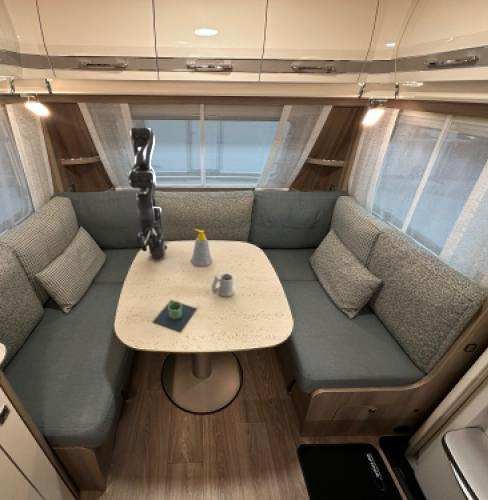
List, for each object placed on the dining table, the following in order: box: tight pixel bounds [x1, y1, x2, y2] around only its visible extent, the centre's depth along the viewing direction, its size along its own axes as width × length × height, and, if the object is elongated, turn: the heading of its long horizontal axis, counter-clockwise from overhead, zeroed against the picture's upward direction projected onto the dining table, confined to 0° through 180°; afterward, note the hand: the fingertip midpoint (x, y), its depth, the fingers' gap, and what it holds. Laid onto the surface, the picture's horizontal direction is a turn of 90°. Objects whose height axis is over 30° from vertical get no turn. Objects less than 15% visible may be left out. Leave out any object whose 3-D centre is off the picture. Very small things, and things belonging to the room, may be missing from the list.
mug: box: [211, 273, 234, 298], centre depth 135 cm, size 8×12×12 cm, turn 110°
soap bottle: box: [191, 228, 212, 267], centre depth 160 cm, size 12×12×20 cm
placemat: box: [152, 300, 197, 333], centre depth 124 cm, size 16×14×1 cm
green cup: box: [167, 300, 182, 319], centre depth 122 cm, size 6×6×6 cm
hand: (149, 246), depth 128 cm, fingers open, 8 cm apart
